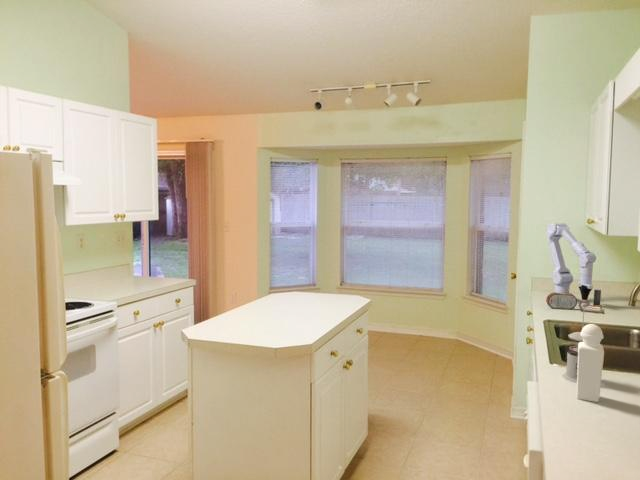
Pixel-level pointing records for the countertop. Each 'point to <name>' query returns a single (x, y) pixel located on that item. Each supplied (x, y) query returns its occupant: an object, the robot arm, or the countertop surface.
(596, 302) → the cylinder
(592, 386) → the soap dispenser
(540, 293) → the countertop surface
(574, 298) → the tin
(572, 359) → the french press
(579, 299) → the button base
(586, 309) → the drawing board
